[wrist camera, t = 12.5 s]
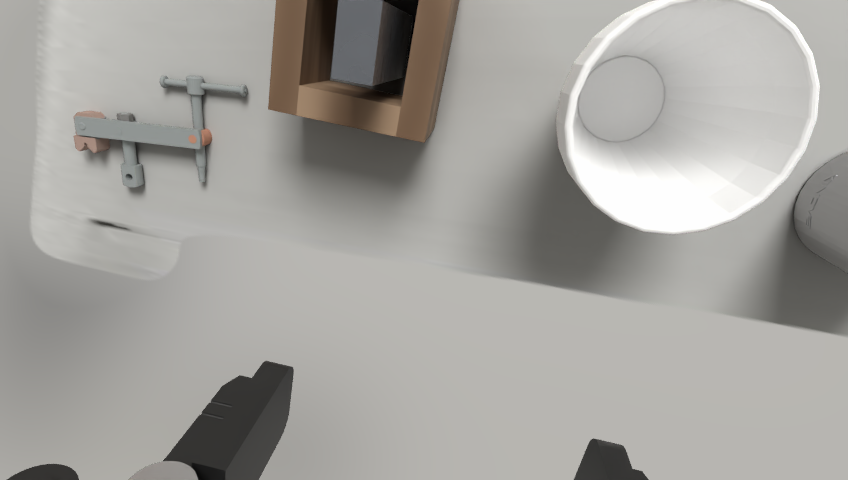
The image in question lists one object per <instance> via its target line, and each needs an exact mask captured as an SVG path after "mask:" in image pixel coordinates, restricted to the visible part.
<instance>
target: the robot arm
mask: <svg viewBox="0 0 848 480" xmlns="http://www.w3.org/2000/svg"><path fill="white" fill-rule="evenodd" d="M794 223H795V229H796V232H797V234H798V236H799V238H800V240H801V241H802V242H803V244H804V245H805V246H806V247H807V248H808V249H810V250H811V251H812V252H814V253H815V254H817V255H818V256H820V257H822V258H823V259H825V260H827V261H828V262H830V263H832V264H833V265H835V266H837V267H838V268H840V269H842V270H843V271H845V272H846V273H848V152H846V153H844V154H841V155H839V156H837V157H836V158H834V159H832V160H830V161H828V162H827V163H826V164H825V165H823V166H822V167H821V168H820V169H818V170H817V171H816V172H815V173H814V174H813V175H812V176H811V178H810V179H809V180H808V181H807V182H806V184H805V185H804V187H803V189H802V190H801V192H800V194H799V196H798V199H797V202H796V204H795V211H794ZM292 382H293V367H290V366H286V365H282V364H277V363H273V362H269V361H265V362H264V363H263V364H262V365H261V366H260V368H259V369H258V370H257V372H256V373H255V375H254V376H253V377H252V378H249V377H244V376H238V377H236V378H235V379H233V380H232V381H230V382H228V383H227V384H225V385H223V386H222V387H221V389H220V390H219V391H218V392H217V394H216V395H215V396H214V397H213V399H212V400H211V403H209V404H208V405H207V406H206V408H205V409H204V410H203V411H202V414H201V415H200V416H198V418H197V419H196V420H195V421H194V423H193V424H192V425H191V427H190V428H189V429H188V430H187V432H186V433H185V434H184V435H183V437H182V438H181V439H180V440H179V442H178V443H177V444H176V446H175V447H174V448H173V449H172V451H171V452H170V453H169V455H168V456H167V457H166V458H165V459H164V460H163V461H162V462H158V463H154V464H151V465H149V466H147V467H144V468H143V469H141V470H139V471H138V472H137V473H135V474H134V475H133V476H132V477H131V478H130V479H129V480H259V478H260V476H261V474H262V472H263V470H264V468H265V466H266V465H267V463H268V461H269V459H270V457H271V455H272V453H273V451H274V450H275V448H276V446H277V444H278V442H279V440H280V438H281V436H282V434H283V432H284V429H285V426H286V423H287V420H288V415H289V408H290V399H291V390H292ZM7 480H79V479H78V475H77V474H76V472H75V471H74V470H73V469H72V468H70V467H68V466H64V465H59V464H46V465H40V466H35V467H32V468H29V469H26V470H24V471H21V472H19V473H17V474H15V475H14V476H12V477H10V478H9V479H7ZM574 480H648V478H647V477H646V476H645V475H644V473H643V472H642V471H639V470H635V469H632V466H631V464H630V461H629V458H628V455H627V452H626V450H625V448H624V447H623V446H622V445H619V444H615V443H611V442H606V441H602V440H597V439H592V440H591V441H590V442H589V444H588V447H587V449H586V451H585V454H584V456H583V459H582V461H581V464H580V466H579V468H578V471H577V473H576V476H575V479H574Z"/></svg>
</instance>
